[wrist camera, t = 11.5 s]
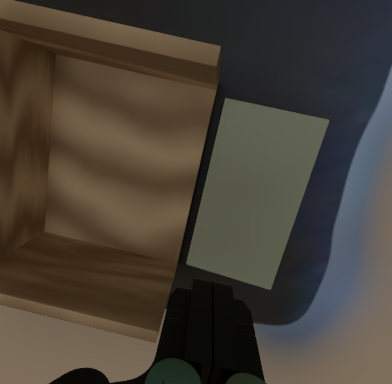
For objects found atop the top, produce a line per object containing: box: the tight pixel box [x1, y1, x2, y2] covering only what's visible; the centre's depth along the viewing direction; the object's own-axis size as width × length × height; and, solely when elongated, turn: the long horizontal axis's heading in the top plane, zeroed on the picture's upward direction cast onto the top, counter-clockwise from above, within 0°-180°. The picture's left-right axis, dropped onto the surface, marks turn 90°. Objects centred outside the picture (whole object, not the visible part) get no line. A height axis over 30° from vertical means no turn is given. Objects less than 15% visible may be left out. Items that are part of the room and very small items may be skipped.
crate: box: [0, 0, 221, 342], centre depth 22 cm, size 20×16×11 cm
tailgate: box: [186, 98, 329, 290], centre depth 25 cm, size 17×2×9 cm
